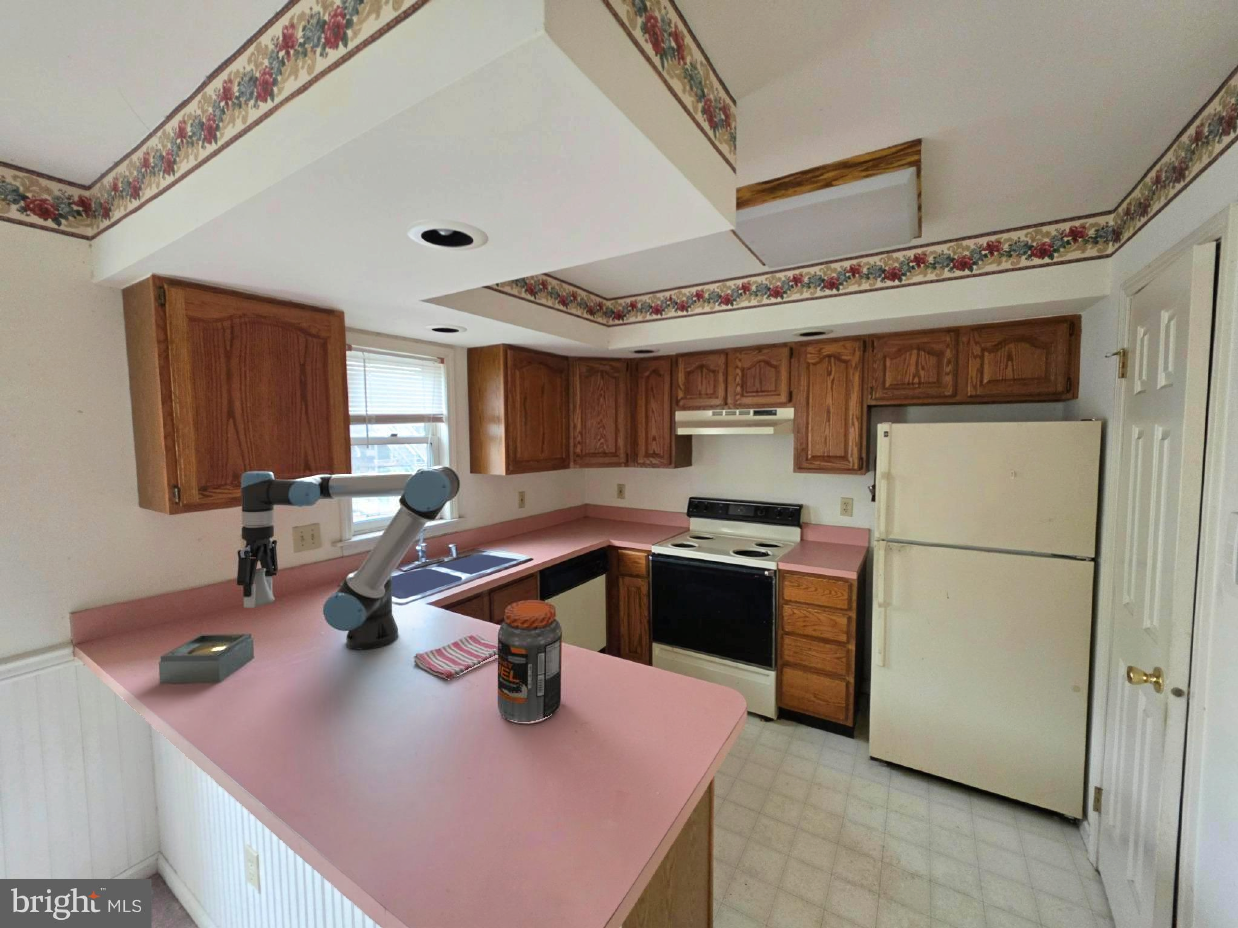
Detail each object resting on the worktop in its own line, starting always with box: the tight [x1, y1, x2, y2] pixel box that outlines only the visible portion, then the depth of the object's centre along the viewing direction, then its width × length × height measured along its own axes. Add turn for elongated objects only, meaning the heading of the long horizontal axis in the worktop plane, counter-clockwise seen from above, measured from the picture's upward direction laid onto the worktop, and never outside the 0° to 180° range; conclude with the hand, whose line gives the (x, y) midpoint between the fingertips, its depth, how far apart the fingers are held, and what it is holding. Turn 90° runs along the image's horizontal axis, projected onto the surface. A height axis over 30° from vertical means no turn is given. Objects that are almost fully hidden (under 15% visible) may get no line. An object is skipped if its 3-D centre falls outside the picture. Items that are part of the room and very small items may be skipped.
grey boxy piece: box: [158, 632, 255, 685], centre depth 137 cm, size 15×14×8 cm
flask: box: [242, 567, 276, 607], centre depth 143 cm, size 7×7×10 cm
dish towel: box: [413, 634, 498, 680], centre depth 148 cm, size 17×23×4 cm
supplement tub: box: [497, 599, 563, 722], centre depth 122 cm, size 16×16×26 cm
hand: (258, 602), depth 143 cm, fingers closed on flask, 7 cm apart
